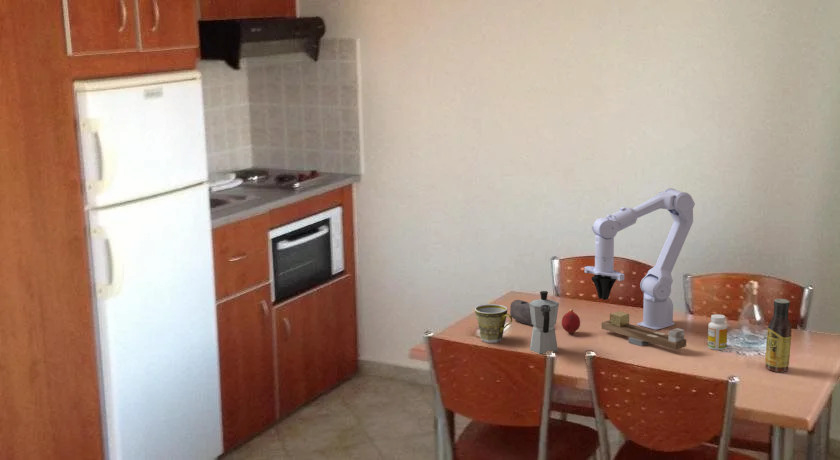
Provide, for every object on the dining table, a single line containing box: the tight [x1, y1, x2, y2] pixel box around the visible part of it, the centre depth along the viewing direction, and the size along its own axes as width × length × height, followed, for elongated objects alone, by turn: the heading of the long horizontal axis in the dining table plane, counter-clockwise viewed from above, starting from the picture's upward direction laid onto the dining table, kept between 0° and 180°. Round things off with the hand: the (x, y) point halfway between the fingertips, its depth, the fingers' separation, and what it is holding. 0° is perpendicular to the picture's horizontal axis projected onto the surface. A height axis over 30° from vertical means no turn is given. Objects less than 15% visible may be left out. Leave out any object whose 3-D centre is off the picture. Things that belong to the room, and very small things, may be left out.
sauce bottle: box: [764, 298, 793, 373], centre depth 260 cm, size 6×6×20 cm
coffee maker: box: [528, 290, 560, 355], centre depth 280 cm, size 15×9×18 cm, turn 178°
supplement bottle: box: [707, 313, 728, 351], centre depth 281 cm, size 5×5×10 cm
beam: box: [601, 319, 687, 351], centre depth 288 cm, size 7×28×6 cm, turn 38°
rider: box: [609, 310, 630, 327], centre depth 294 cm, size 4×4×5 cm
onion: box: [561, 308, 581, 335], centre depth 297 cm, size 6×6×8 cm
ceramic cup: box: [474, 303, 513, 344], centre depth 292 cm, size 13×10×10 cm
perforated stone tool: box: [509, 299, 534, 327], centre depth 308 cm, size 15×5×7 cm, turn 37°
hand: (603, 298), depth 298 cm, fingers closed
